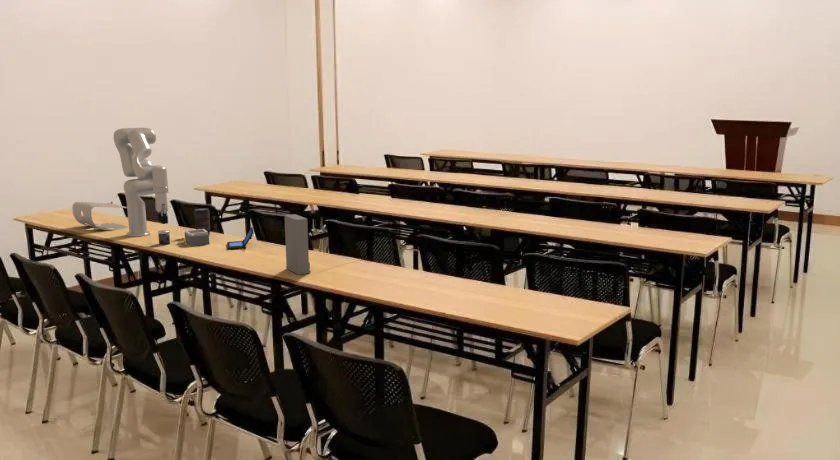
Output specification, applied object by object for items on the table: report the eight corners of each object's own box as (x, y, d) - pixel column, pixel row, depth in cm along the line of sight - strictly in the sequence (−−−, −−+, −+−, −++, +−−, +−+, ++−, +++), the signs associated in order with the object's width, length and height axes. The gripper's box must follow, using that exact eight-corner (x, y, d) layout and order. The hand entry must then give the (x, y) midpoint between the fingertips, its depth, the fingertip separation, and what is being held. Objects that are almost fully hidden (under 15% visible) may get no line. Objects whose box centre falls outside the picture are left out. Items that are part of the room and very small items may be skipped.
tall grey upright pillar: (311, 273, 322) (309, 218, 317) (298, 275, 318) (296, 220, 313) (298, 267, 333) (296, 214, 328) (286, 268, 330) (284, 215, 325)
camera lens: (213, 234, 409) (211, 208, 406) (207, 237, 401) (205, 210, 398) (199, 233, 409) (197, 207, 406) (193, 236, 401) (191, 210, 398)
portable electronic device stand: (73, 227, 428) (70, 202, 425) (111, 222, 446) (109, 197, 443) (93, 233, 412) (91, 206, 409) (132, 227, 429) (130, 201, 426)
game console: (227, 244, 383) (226, 227, 381) (253, 242, 386) (252, 226, 384) (227, 250, 368) (226, 233, 366) (254, 249, 371) (253, 231, 370)
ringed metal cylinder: (158, 243, 384) (157, 230, 383) (169, 242, 387) (168, 229, 386) (159, 245, 379) (158, 232, 378) (171, 244, 382) (170, 231, 381)
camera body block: (185, 241, 390) (184, 229, 389) (203, 239, 395) (203, 228, 393) (190, 246, 378) (189, 234, 377) (209, 244, 382) (208, 232, 381)
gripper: (150, 189, 383) (153, 220, 386) (155, 192, 368) (158, 225, 371) (165, 188, 387) (168, 219, 390) (171, 191, 371) (173, 223, 374)
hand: (163, 222), depth 380 cm, fingers open, 9 cm apart
